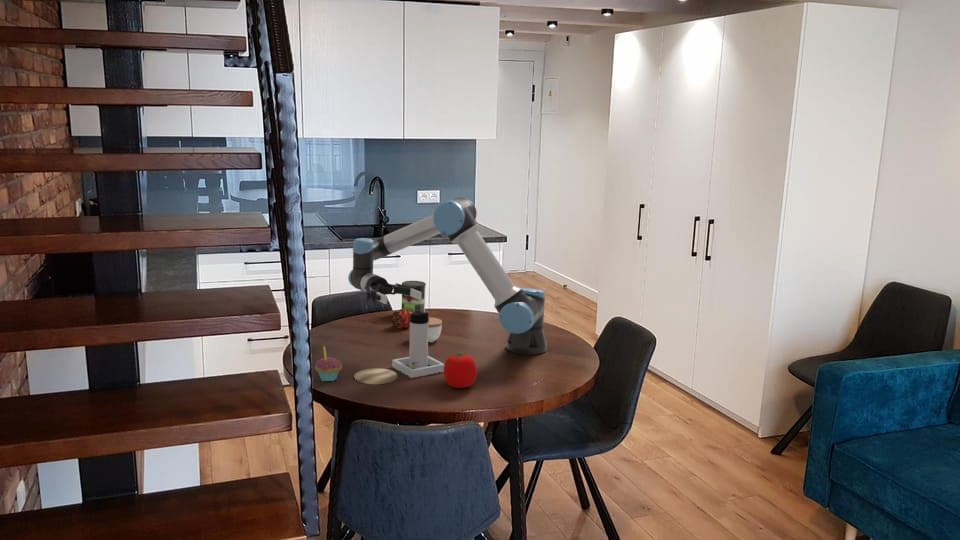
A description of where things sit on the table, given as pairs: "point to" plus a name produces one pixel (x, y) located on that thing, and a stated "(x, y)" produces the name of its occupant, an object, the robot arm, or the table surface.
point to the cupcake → (328, 367)
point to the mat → (375, 376)
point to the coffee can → (413, 303)
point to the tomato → (460, 370)
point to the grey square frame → (433, 368)
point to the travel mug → (418, 340)
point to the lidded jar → (434, 329)
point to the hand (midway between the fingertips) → (403, 298)
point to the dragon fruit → (401, 318)
